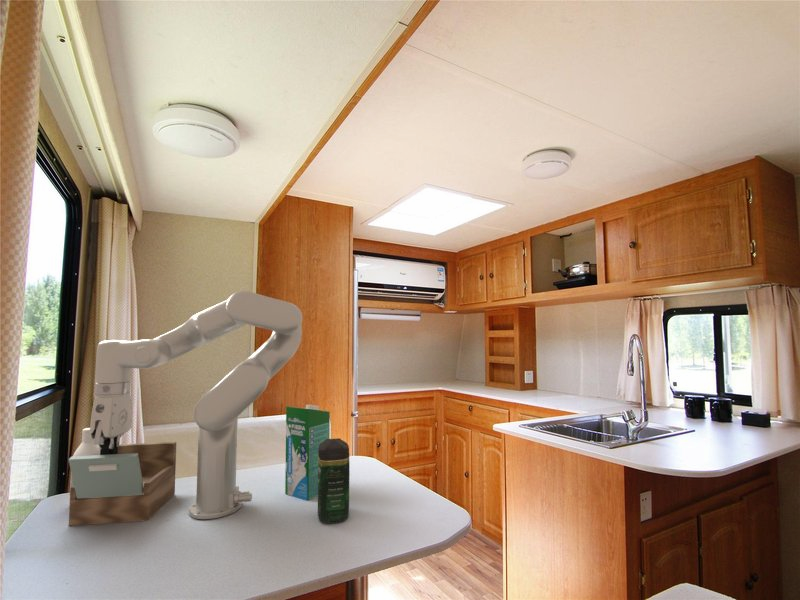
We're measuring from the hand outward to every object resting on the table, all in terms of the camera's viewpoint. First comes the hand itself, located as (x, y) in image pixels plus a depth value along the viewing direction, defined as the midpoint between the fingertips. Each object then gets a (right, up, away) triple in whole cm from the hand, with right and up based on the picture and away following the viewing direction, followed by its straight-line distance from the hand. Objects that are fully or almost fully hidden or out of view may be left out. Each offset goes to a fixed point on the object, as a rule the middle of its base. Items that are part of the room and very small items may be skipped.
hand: (108, 464), depth 100 cm
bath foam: (-15, -16, +12) cm, 25 cm away
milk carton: (+45, -16, +18) cm, 51 cm away
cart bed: (-1, -15, +7) cm, 17 cm away
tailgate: (0, -8, 0) cm, 8 cm away
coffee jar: (+56, -14, +2) cm, 57 cm away
